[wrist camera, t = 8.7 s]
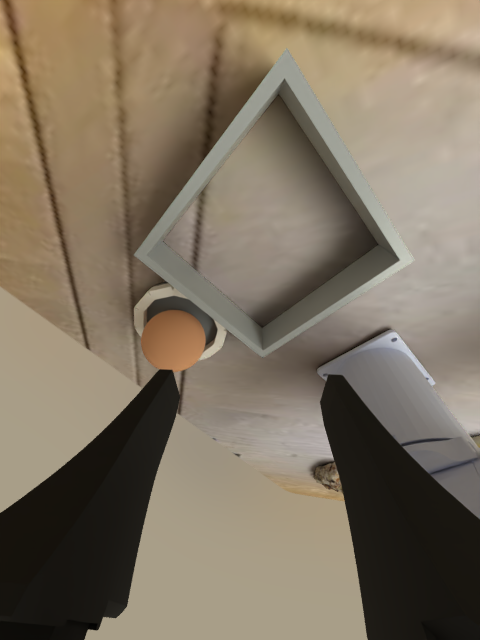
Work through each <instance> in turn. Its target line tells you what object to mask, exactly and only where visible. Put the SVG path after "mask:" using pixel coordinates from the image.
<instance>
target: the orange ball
mask: <svg viewBox="0 0 480 640" xmlns="http://www.w3.org/2000/svg"><path fill="white" fill-rule="evenodd" d="M205 342H206V339H205V332H204V329H203V327H202V325H201V323H200V322H199V321H198V320H197V319H196V318H195V317H194V316H193V315H191V314H189V313H187V312H185V311H181V310H167V311H163V312H161V313H159V314H157V315H155V316H154V317H153V318H152V319H150V321H149V322H148V323H147V324H146V326H145V328H144V330H143V333H142V338H141V346H142V350H143V353H144V355H145V357H146V359H147V360H148V361H149V362H150V363H151V364H152V365H153V366H155V367H156V368H158V369H168V370H173V372H178V371H182V370H185V369H187V368H189V367H191V366H192V365H194V364H195V363H196V362H197V361H198V360H199V358H200V357H201V355H202V353H203V351H204V348H205Z"/></svg>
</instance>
